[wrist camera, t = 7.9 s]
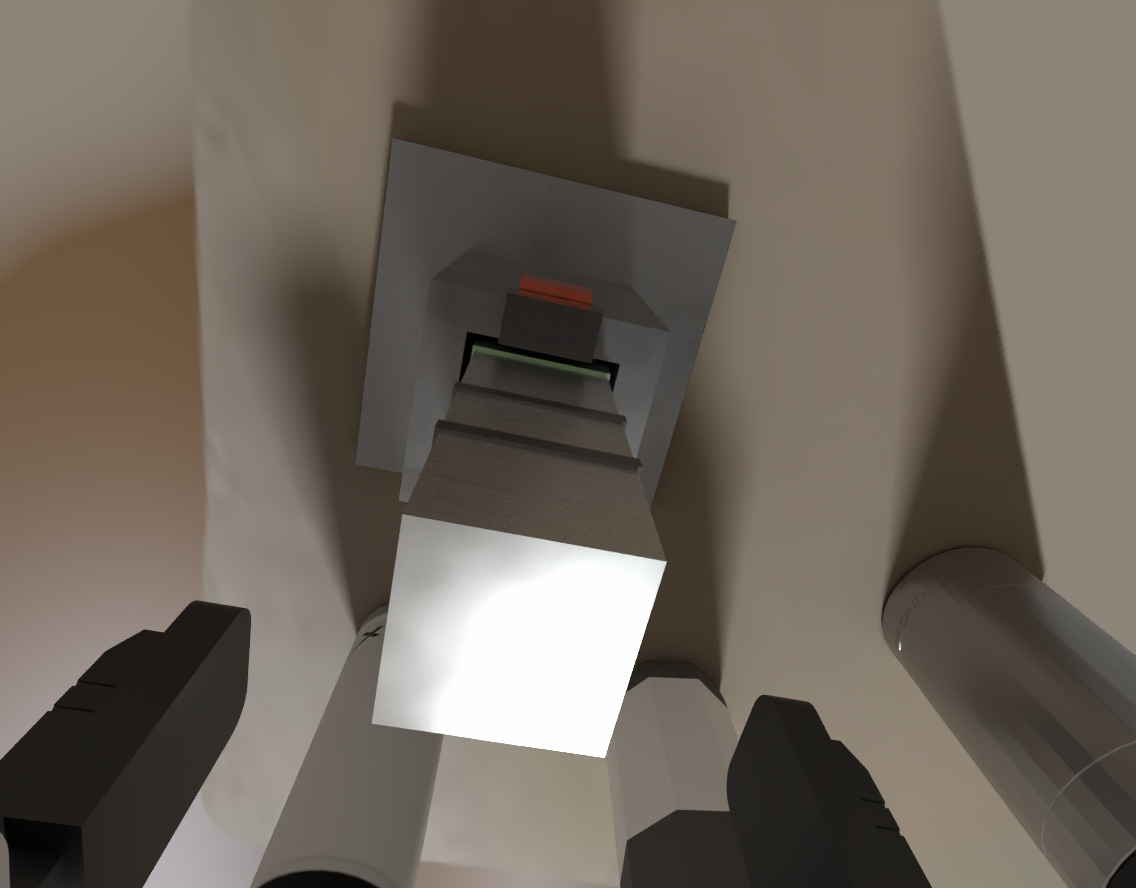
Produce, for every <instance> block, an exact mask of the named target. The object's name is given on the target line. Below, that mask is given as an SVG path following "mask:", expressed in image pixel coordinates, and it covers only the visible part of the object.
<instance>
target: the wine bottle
mask: <svg viewBox="0 0 1136 888" xmlns="http://www.w3.org/2000/svg"><path fill="white" fill-rule="evenodd" d="M738 742H739V740H738V737H737V735H736V732H735V729H734V726H733V723H732V720H731V717H730V714H729V712H728V709H727V706H726V703H725V701H724V698H723V697H722V695H721V693H720V691H719V690H718V689H717V688H716V687H715V686H714V685H713V684H712V683H711V682H710V681H709V680H708V679H707V678H706V677H705V676H704V675H703V674H702V673H701V672H700V671H699V670H698V669H697V668H696V667H695V666H694V665H693V664H692V663H670V662H647V661H646V662H644V663H643V664H641V665H640V666H639V667H637V668H636V669H634V670H633V671H632V672H631V675H630V678H629V682H628V685H627V688H626V691H625V694H624V697H623V700H622V703H621V706H620V710H619V713H618V716H617V719H616V722H615V725H614V728H613V731H612V735H611V738H610V741H609V744H608V747H607V750H606V755H607V764H608V773H609V783H610V792H611V802H612V811H613V821H614V830H615V840H616V849H617V859H618V868H619V877H620V887H621V888H752V886H751V882H750V879H749V875H748V872H747V868H746V865H745V861H744V858H743V855H742V851H741V848H740V844H739V841H738V837H737V834H736V830H735V827H734V824H733V820H732V817H731V813H730V810H729V806H728V801H727V788H726V785H727V773H728V768H729V764H730V762H731V759H732V757H733V754H734V752H735V749H736V747H737V744H738Z"/></svg>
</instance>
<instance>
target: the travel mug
mask: <svg viewBox="0 0 1136 888" xmlns="http://www.w3.org/2000/svg"><path fill="white" fill-rule="evenodd" d="M388 609H389V604H387V605H384V606H382V607H380V608H378V609H376V610H375V611H373V612H372V613H371V614H370V615H369V616H367V617H366V619H365V620H364V622H363V623H362V625H361V627H360V629H359V632H358V634H357V636H356V639H355V641H354V644H353V646H352V648H351V651H350V653H349V655H348V658H347V660H346V662H345V665H344V667H343V669H342V672H341V674H340V677H339V679H338V681H337V684H336V686H335V688H334V691H333V693H332V695H331V698H330V700H329V702H328V705H327V707H326V710H325V712H324V714H323V717H322V719H321V721H320V724H319V726H318V728H317V731H316V733H315V735H314V738H313V740H312V743H311V745H310V747H309V750H308V752H307V754H306V757H305V759H304V761H303V764H302V766H301V768H300V771H299V773H298V776H297V778H296V780H295V783H294V785H293V787H292V790H291V792H290V794H289V797H288V799H287V801H286V804H285V806H284V809H283V811H282V813H281V816H280V818H279V820H278V823H277V825H276V827H275V830H274V832H273V834H272V837H271V839H270V842H269V844H268V846H267V849H266V851H265V854H264V856H263V858H262V861H261V863H260V865H259V867H258V870H257V872H256V875H255V877H254V879H253V882H252V884H251V887H250V888H415V885H416V880H417V874H418V869H419V864H420V859H421V853H422V848H423V843H424V837H425V832H426V827H427V822H428V816H429V811H430V806H431V800H432V795H433V790H434V784H435V779H436V774H437V768H438V763H439V758H440V752H441V747H442V742H443V736H444V734H440V733H433V732H426V731H419V730H412V729H405V728H399V727H392V726H385V725H378V724H372V718H373V711H374V704H375V697H376V691H377V684H378V677H379V670H380V663H381V657H382V650H383V643H384V636H385V629H386V623H387V616H388Z"/></svg>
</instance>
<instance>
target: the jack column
mask: <svg viewBox="0 0 1136 888" xmlns="http://www.w3.org/2000/svg"><path fill="white" fill-rule="evenodd" d="M498 341H499V338H495V337H491V336H486V335H482V336H481V338H480V339H476V340H475V342H474V344H473V348H472V354H471V360H470V363H469V365H468V367H467V369H466V372H465V374H464V376H463V378H462V381H461V382H456V383H455V385H454V387H453V393H452V399H451V405H450V408H449V410H448V412H447V415H446V417H445V419H444V420H440V419H438V421H437V423H436V425H435V428H434V435H433V441H432V447H431V451H430V453H429V455H428V458H427V460H426V462H425V464H424V467H423V469H422V471H421V473H420V476H419V478H418V480H417V482H416V485H415V487H414V489H413V491H412V494H411V496H410V498H409V501H408V503H407V505H406V507H405V510H404V512H403V514H402V521H401V527H400V534H399V541H398V548H397V555H396V561H395V568H394V575H393V582H392V589H391V595H390V602H389V609H388V616H387V623H386V629H385V636H384V643H383V650H382V657H381V663H380V670H379V677H378V684H377V691H376V697H375V704H374V711H373V718H372V724H378V725H385V726H392V727H399V728H405V729H412V730H419V731H426V732H433V733H440V734H447V735H454V736H461V737H468V738H475V739H482V740H489V741H496V742H503V743H509V744H516V745H523V746H530V747H537V748H544V749H551V750H558V751H565V752H572V753H579V754H586V755H593V756H600V757H604V756H605V753H606V750H607V747H608V744H609V741H610V738H611V735H612V731H613V728H614V725H615V722H616V719H617V716H618V713H619V710H620V706H621V703H622V700H623V697H624V694H625V691H626V688H627V685H628V682H629V678H630V675H631V672H632V669H633V666H634V663H635V660H636V657H637V653H638V650H639V647H640V644H641V641H642V638H643V635H644V632H645V628H646V625H647V622H648V619H649V616H650V613H651V610H652V607H653V603H654V600H655V597H656V594H657V591H658V588H659V585H660V582H661V578H662V575H663V572H664V569H665V566H666V563H667V561H666V557H665V554H664V551H663V548H662V545H661V542H660V539H659V536H658V533H657V530H656V526H655V523H654V520H653V517H652V514H651V511H650V508H649V505H648V502H647V499H646V495H645V492H644V489H643V486H642V483H641V480H640V477H641V473H642V470H643V466H642V463H641V460H640V459H638V458H633V455H632V452H631V449H630V446H629V443H628V440H627V437H626V434H625V429H626V425H627V420H626V417H625V416H623V415H619V412H618V409H617V406H616V403H615V399H614V396H613V393H612V390H611V387H610V384H609V379H610V375H611V374H610V371H609V368H608V366H604V365H603V362H602V360H599V359H594V358H593V359H592V363H587V362H583V361H578V360H573V359H568V358H564V357H559V356H554V355H550V354H545V353H540V352H535V351H531V350H526V349H521V348H516V347H512V346H507V345H502V344H498Z"/></svg>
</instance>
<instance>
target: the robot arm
mask: <svg viewBox="0 0 1136 888" xmlns="http://www.w3.org/2000/svg"><path fill="white" fill-rule="evenodd" d="M882 626H883V633H884V638H885V640H886V642H887V644H888V646H889V648H890V650H891V651H892V652H893V654H894V655H895V656H896V658H897V659H898V660H899V662H900V663H901V664H902V666H903V667H904V668H905V670H906V671H907V672H908V674H909V675H910V676H911V678H912V679H913V680H914V682H915V683H916V684H917V686H918V687H919V688H920V690H921V691H922V693H923V694H924V696H925V697H926V698H927V700H928V701H929V702H930V704H931V705H932V706H933V708H934V709H935V710H936V712H937V713H938V714H939V716H940V717H941V718H942V720H943V721H944V722H945V724H946V725H947V726H948V728H949V729H950V730H951V732H952V733H953V734H954V736H955V737H956V738H957V740H958V741H959V742H960V744H961V745H962V746H963V748H964V749H965V750H966V752H967V753H968V755H969V756H970V757H971V759H972V760H973V761H974V763H975V764H976V765H977V767H978V768H979V769H980V771H981V772H982V773H983V775H984V776H985V777H986V779H987V780H988V781H989V783H990V784H991V785H992V787H993V788H994V789H995V791H996V792H997V793H998V795H999V796H1000V797H1001V799H1002V800H1003V801H1004V803H1005V804H1006V805H1007V807H1008V808H1009V809H1010V811H1011V812H1012V813H1013V815H1014V816H1015V818H1016V819H1017V820H1018V822H1019V823H1020V824H1021V826H1022V827H1023V828H1024V830H1025V831H1026V832H1027V834H1028V835H1029V836H1030V838H1031V839H1032V840H1033V842H1034V843H1035V844H1036V846H1037V847H1038V848H1039V850H1040V851H1041V852H1042V854H1043V855H1044V856H1045V858H1046V859H1047V860H1048V862H1049V863H1050V864H1051V866H1052V867H1053V868H1054V869H1055V871H1056V872H1057V873H1058V875H1059V876H1060V877H1061V879H1062V880H1063V881H1064V883H1065V884H1066V885H1067V887H1068V888H1136V655H1134V654H1133V653H1132V652H1130V651H1129V650H1128V649H1127V648H1125V647H1124V646H1123V645H1122V644H1120V643H1119V642H1118V641H1117V640H1115V639H1114V638H1113V637H1112V636H1110V635H1109V634H1108V633H1107V632H1105V631H1104V630H1103V629H1101V628H1100V627H1099V626H1097V625H1096V624H1095V623H1094V622H1092V621H1091V620H1090V619H1089V618H1088V617H1086V616H1085V615H1084V614H1082V613H1081V612H1080V611H1079V610H1077V609H1076V608H1075V607H1074V606H1072V605H1071V604H1070V603H1069V602H1067V601H1066V600H1065V599H1064V598H1062V597H1061V596H1060V595H1059V594H1057V593H1056V592H1055V591H1054V590H1052V589H1051V588H1050V587H1048V586H1047V585H1046V584H1045V583H1043V582H1042V581H1040V580H1039V579H1038V578H1036V577H1035V576H1034V575H1033V574H1031V573H1030V572H1029V571H1028V570H1026V569H1025V568H1024V567H1022V566H1021V565H1020V564H1019V563H1017V562H1016V561H1015V560H1014V559H1012V558H1011V557H1010V556H1008V555H1006V554H1003V553H1001V552H999V551H997V550H992V549H987V548H961V549H956V550H950V551H947V552H945V553H942V554H939V555H936V556H934V557H932V558H930V559H928V560H927V561H925V562H923V563H921V564H919V565H918V566H917V567H916V568H914V569H913V570H912V571H911V572H909V573H908V574H907V575H906V576H905V577H904V578H903V579H902V580H901V581H900V583H899V584H898V585H897V586H896V587H895V589H894V590H893V592H892V594H891V595H890V597H889V599H888V601H887V604H886V607H885V610H884V613H883V623H882ZM250 631H251V614H250V611H249V609H247V608H241V607H235V606H228V605H222V604H216V603H210V602H204V601H193V602H191V603H190V604H189V605H188V606H187V607H186V608H185V609H184V610H183V612H182V613H181V614H180V615H179V616H178V617H177V618H176V619H175V621H174V622H173V623H172V624H171V625H170V626H169V628H168V629H167V630H166V631H165V632H164V633H163V632H157V631H151V630H143V631H141V632H139V633H137V634H135V635H134V636H132V637H130V638H128V639H126V640H125V641H123V642H121V643H119V644H118V645H116V646H114V647H112V648H110V649H109V650H107V651H105V652H104V653H103V654H102V656H101V657H100V658H99V659H98V660H97V661H96V662H95V663H94V664H93V665H92V666H91V667H90V668H89V669H88V670H87V671H86V672H85V673H84V674H83V675H82V676H81V677H80V678H79V679H78V682H77V684H76V686H72V687H71V688H70V689H69V690H68V691H67V692H66V693H65V694H64V695H63V696H62V697H61V698H60V699H59V700H58V701H57V702H56V703H55V704H54V707H53V710H52V711H47V712H46V714H44V716H43V717H42V718H41V719H40V720H39V721H38V722H37V723H36V724H35V725H34V726H33V727H32V728H31V729H30V730H29V731H28V732H27V733H26V734H25V735H24V736H23V737H22V738H21V739H20V740H19V741H18V743H16V744H15V746H14V747H13V748H12V749H11V750H10V751H9V752H8V753H7V754H6V755H5V756H4V757H3V758H2V759H1V760H0V888H142V887H143V886H144V884H145V882H146V881H147V879H148V877H149V875H150V874H151V872H152V870H153V869H154V867H155V865H156V863H157V862H158V860H159V858H160V857H161V855H162V853H163V851H164V850H165V848H166V846H167V845H168V843H169V841H170V840H171V838H172V836H173V834H174V833H175V831H176V829H177V828H178V826H179V824H180V822H181V821H182V819H183V817H184V816H185V814H186V812H187V811H188V809H189V807H190V805H191V804H192V802H193V800H194V799H195V797H196V795H197V793H198V792H199V790H200V788H201V787H202V785H203V783H204V781H205V780H206V778H207V776H208V775H209V773H210V771H211V770H212V768H213V766H214V764H215V763H216V761H217V759H218V758H219V756H220V754H221V752H222V751H223V749H224V747H225V746H226V744H227V742H228V741H229V739H230V737H231V735H232V734H233V732H234V730H235V728H236V725H237V723H238V721H239V718H240V715H241V713H242V709H243V706H244V702H245V698H246V693H247V683H248V666H249V648H250ZM726 788H727V801H728V806H729V810H730V813H731V817H732V820H733V824H734V827H735V830H736V834H737V837H738V841H739V844H740V848H741V851H742V855H743V858H744V861H745V865H746V868H747V872H748V875H749V879H750V882H751V886H752V888H932V887H931V885H930V883H929V881H928V880H927V878H926V876H925V874H924V872H923V870H922V869H921V867H920V865H919V863H918V861H917V859H916V858H915V856H914V854H913V852H912V850H911V849H910V847H909V845H908V843H907V841H906V839H905V838H904V836H900V833H899V830H900V829H899V827H898V825H897V823H896V821H895V819H894V818H893V816H892V814H891V812H890V810H889V809H888V808H885V801H884V799H883V798H882V796H881V794H880V792H879V790H878V788H877V787H876V785H875V783H874V781H873V779H872V777H871V776H870V774H869V772H868V770H867V769H866V768H865V767H864V766H863V765H862V764H861V763H860V762H859V761H858V759H857V758H856V757H855V756H854V755H853V754H852V753H851V752H850V751H849V750H848V749H847V748H846V747H845V745H844V744H843V743H842V742H841V741H837V740H831V739H830V737H829V735H828V733H827V731H826V729H825V727H824V725H823V723H822V721H821V719H820V717H819V715H818V713H817V711H816V710H815V708H814V707H813V705H812V704H810V703H809V702H806V701H800V700H794V699H788V698H782V697H775V696H769V695H761V696H760V697H759V698H758V699H757V700H756V701H755V703H754V706H753V708H752V710H751V713H750V715H749V718H748V720H747V723H746V725H745V727H744V730H743V732H742V735H741V737H740V740H739V742H738V744H737V747H736V749H735V752H734V754H733V757H732V759H731V762H730V764H729V768H728V773H727V785H726Z"/></svg>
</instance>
